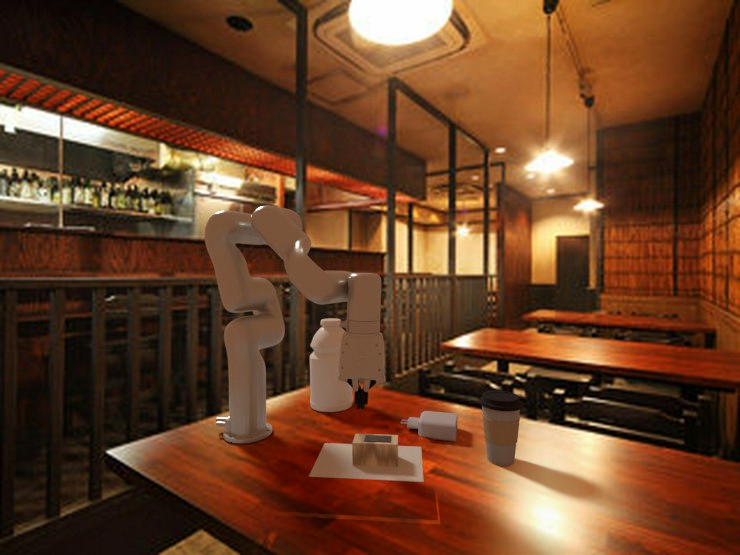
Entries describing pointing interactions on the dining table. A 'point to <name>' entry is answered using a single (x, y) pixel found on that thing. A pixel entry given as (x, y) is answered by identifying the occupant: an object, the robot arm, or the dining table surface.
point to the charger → (434, 425)
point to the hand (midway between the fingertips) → (361, 406)
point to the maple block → (375, 450)
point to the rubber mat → (339, 465)
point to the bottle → (328, 370)
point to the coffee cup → (500, 425)
